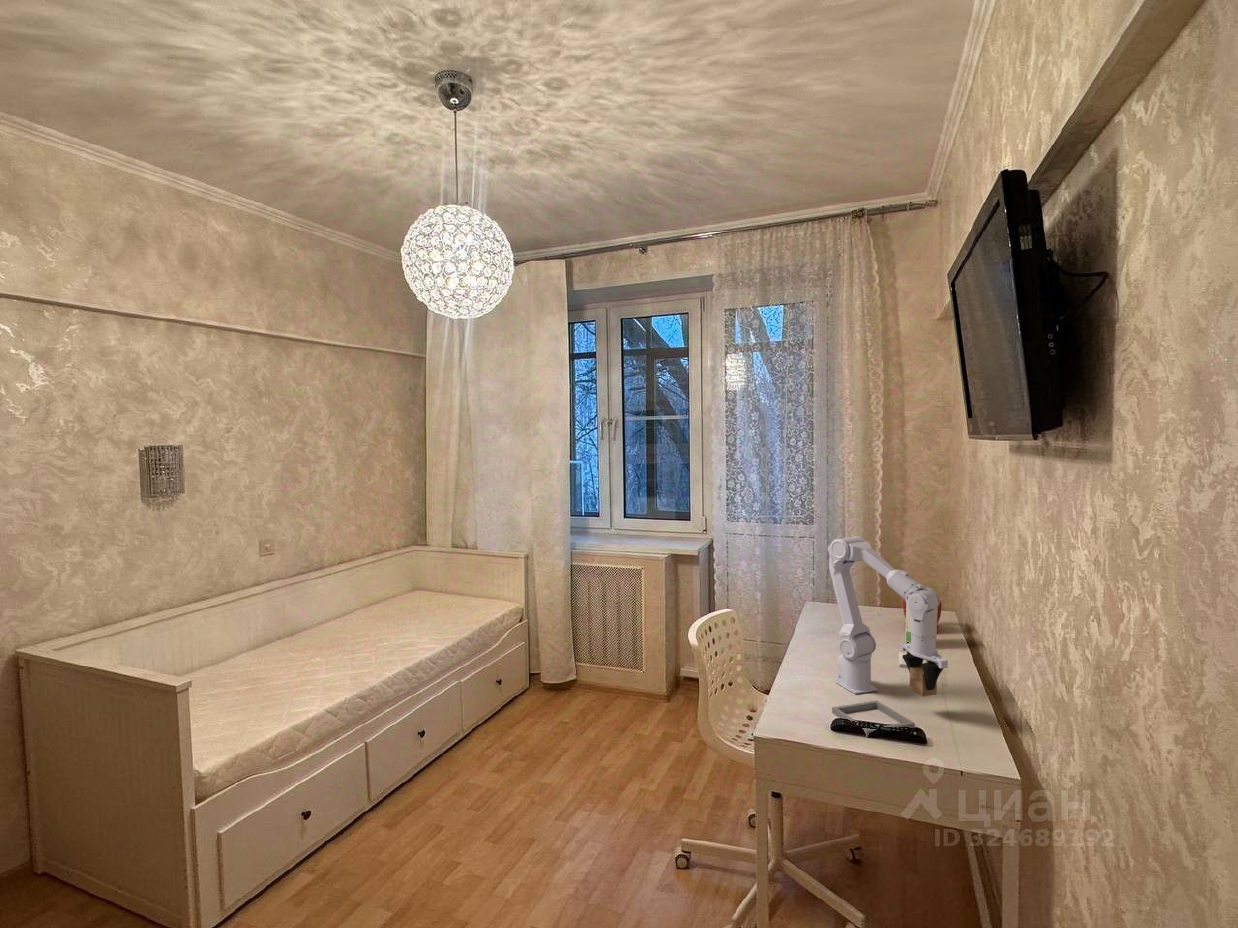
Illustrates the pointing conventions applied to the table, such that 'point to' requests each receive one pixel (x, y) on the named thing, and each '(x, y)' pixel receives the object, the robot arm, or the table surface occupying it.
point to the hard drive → (902, 663)
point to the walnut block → (920, 682)
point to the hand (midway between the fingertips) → (923, 685)
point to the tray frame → (844, 709)
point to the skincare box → (908, 625)
